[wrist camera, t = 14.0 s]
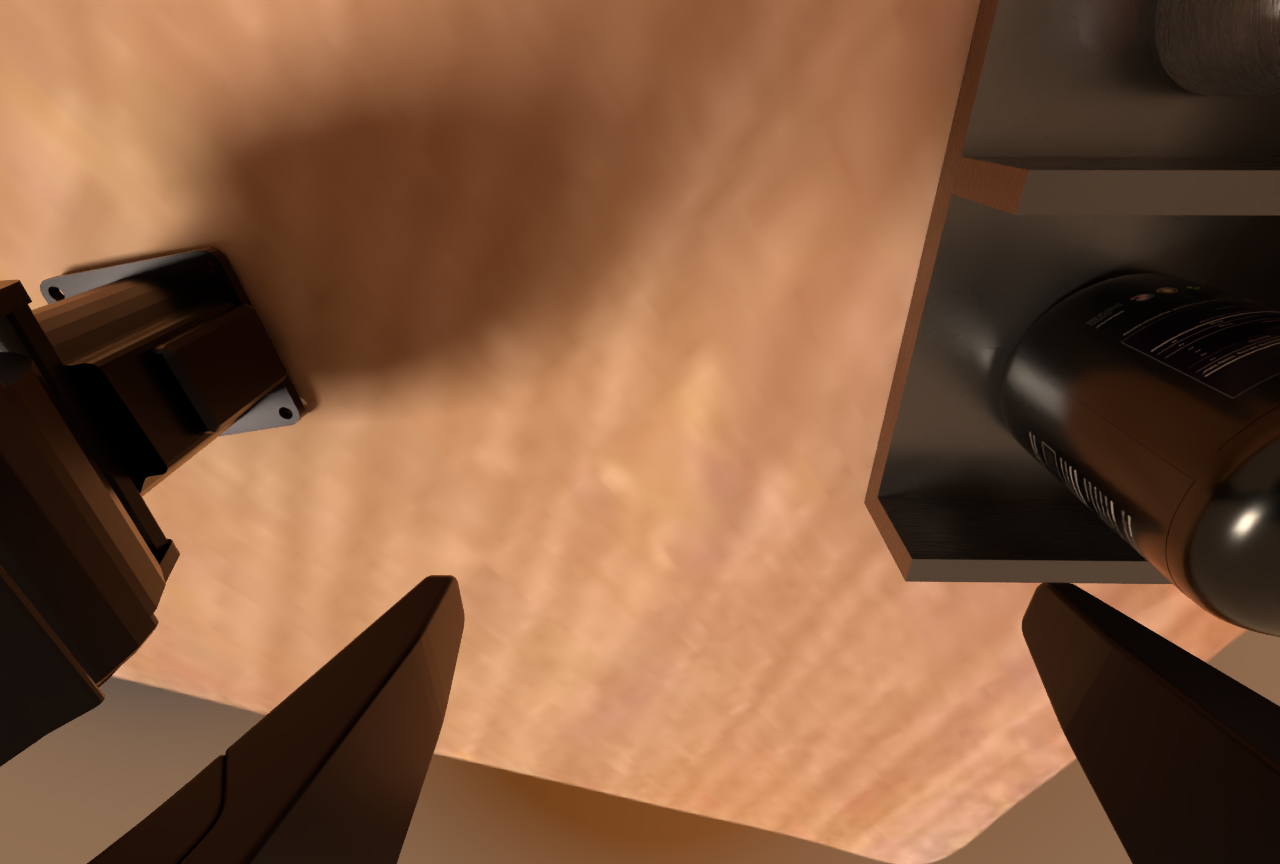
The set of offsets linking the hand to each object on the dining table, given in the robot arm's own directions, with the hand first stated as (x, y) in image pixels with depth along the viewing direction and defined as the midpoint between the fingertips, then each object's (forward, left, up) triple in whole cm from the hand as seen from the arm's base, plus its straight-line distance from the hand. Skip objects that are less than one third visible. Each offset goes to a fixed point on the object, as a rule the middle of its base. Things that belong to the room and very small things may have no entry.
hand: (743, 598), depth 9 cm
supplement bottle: (+13, -4, -12) cm, 18 cm away
